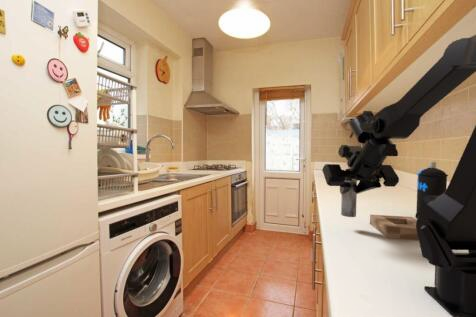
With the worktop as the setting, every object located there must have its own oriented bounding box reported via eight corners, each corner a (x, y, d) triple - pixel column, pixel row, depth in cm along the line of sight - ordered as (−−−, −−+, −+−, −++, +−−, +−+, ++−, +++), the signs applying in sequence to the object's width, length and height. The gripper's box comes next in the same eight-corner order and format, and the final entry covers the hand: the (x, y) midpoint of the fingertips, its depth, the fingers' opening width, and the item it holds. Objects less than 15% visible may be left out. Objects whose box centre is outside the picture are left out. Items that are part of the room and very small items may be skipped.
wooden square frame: (437, 241, 60) (438, 229, 60) (387, 237, 62) (387, 226, 62) (411, 226, 72) (411, 216, 71) (369, 223, 74) (370, 214, 74)
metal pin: (358, 217, 66) (359, 175, 65) (343, 216, 66) (344, 175, 66) (353, 213, 70) (354, 174, 69) (339, 213, 70) (340, 174, 70)
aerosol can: (443, 218, 81) (446, 162, 80) (448, 224, 74) (450, 162, 73) (414, 214, 85) (416, 161, 85) (416, 220, 78) (418, 161, 78)
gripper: (392, 135, 63) (368, 172, 74) (325, 134, 63) (311, 171, 74) (414, 166, 55) (383, 201, 67) (338, 165, 55) (319, 201, 66)
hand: (348, 192), depth 68 cm, fingers closed on metal pin, 4 cm apart
